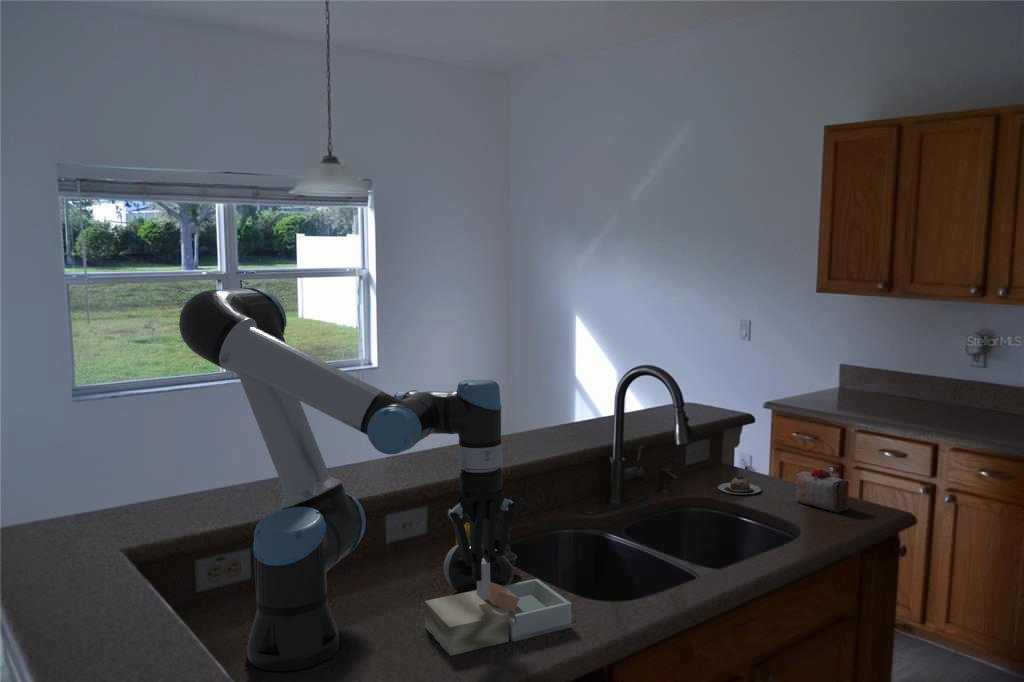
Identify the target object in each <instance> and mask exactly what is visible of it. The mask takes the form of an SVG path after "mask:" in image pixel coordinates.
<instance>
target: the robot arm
mask: <svg viewBox="0 0 1024 682" xmlns="http://www.w3.org/2000/svg"><path fill="white" fill-rule="evenodd" d="M178 326H179V327H178V328H179V333H180V335H181V338H182V341H184V343H185V344H186V346H187V347H188V348H189V349H190V350H191V351H192V352H194V353H195V354H196V355H198V356H199V357H201V358H202V359H204V360H205V361H208V362H210V363H211V364H214V365H216V366H218V367H220V368H221V369H224V370H226V371H230V372H233V373H235V374H236V375H238V378H239V380H240V383H241V385H242V388H243V391H244V393H245V396H246V398H247V401H248V403H249V405H250V408H251V411H252V413H253V415H254V419H255V421H256V423H257V425H258V428H259V431H260V433H261V435H262V438H263V442H264V443H265V446H266V449H267V451H268V453H269V456H270V459H271V461H272V463H273V466H274V469H275V471H276V473H277V477H278V479H279V481H280V484H281V486H282V488H283V491H284V494H285V495H284V498H283V500H282V503H281V505H280V507H281V511H277V510H276V511H273V512H272V513H270V514H268V515H266V516H265V517H263V518H262V519H261V520H259V522H258V523H257V524H256V526H255V528H254V532H253V543H252V544H253V545H252V553H253V556H254V557H253V558H254V562H253V563H254V577H255V595H256V596H255V598H256V613H255V617H254V620H253V623H252V626H251V630H250V633H249V636H248V637H249V638H248V642H247V648H246V649H247V658H248V659H247V660H248V661H249V663H250V664H251V665H252V666H254V667H256V668H258V669H259V670H263V671H269V672H270V671H271V672H293V671H299V670H305V669H308V668H311V667H315V666H317V665H319V664H321V663H323V662H325V661H327V660H329V659H330V658H332V657H333V656H334V655H335V654H336V653H337V651H338V650H339V647H340V637H339V636H340V635H339V630H338V626H337V623H336V622H335V619H334V616H333V614H332V611H331V608H330V606H329V604H328V603H329V602H328V591H327V590H328V587H327V585H328V584H327V582H328V581H327V572H328V571H329V570H330V569H332V568H333V567H334V566H336V564H338V563H339V562H340V561H342V559H343V558H346V557H347V556H349V555H350V554H351V553H352V552H354V550H355V548H356V547H357V546H358V544H359V543H360V542H361V540H362V538H363V537H364V534H365V530H366V524H367V523H366V513H365V510H364V508H363V506H362V504H361V503H360V502H359V500H358V498H356V497H355V496H354V495H351V494H350V493H349V492H347V491H346V490H345V488H344V486H343V482H342V481H341V480H340V479H338V478H335V477H333V476H332V475H330V473H329V471H328V468H327V465H326V463H325V461H324V458H323V455H322V453H321V450H320V448H319V445H318V443H317V440H316V438H315V435H314V432H313V429H312V427H311V425H310V422H309V421H308V418H307V417H308V416H307V415H306V413H305V410H304V408H303V407H304V406H303V405H302V403H303V404H306V405H307V406H309V407H311V408H313V409H314V410H315V409H316V410H317V411H320V412H321V413H323V414H325V415H326V416H329V417H331V418H333V419H335V420H336V421H339V422H340V423H343V424H345V425H346V426H348V427H350V428H352V429H355V430H356V431H359V432H360V433H362V434H364V435H366V436H367V437H368V440H369V442H370V443H371V445H372V446H373V448H374V449H376V451H378V452H380V453H382V454H384V455H397V454H400V453H403V452H405V451H409V450H410V449H412V448H413V447H415V445H416V444H417V443H419V442H420V441H422V440H423V439H426V438H427V437H428V436H430V435H435V434H437V435H438V434H440V435H443V434H445V435H456V434H457V435H458V447H459V448H458V456H459V457H458V463H459V466H460V468H461V469H460V470H459V489H460V495H459V498H458V500H457V502H458V503H457V504H455V506H454V507H453V508H452V509H451V508H448V509H447V510H446V512H445V514H446V515H447V517H448V518H449V519H450V520H451V523H452V526H453V530H454V534H455V539H456V538H457V542H458V546H459V550H460V553H461V557H462V558H463V559H464V560H466V561H467V562H468V563H470V562H472V577H473V579H474V580H475V581H477V595H478V596H479V597H480V598H481V599H483V600H485V599H490V598H491V591H490V578H494V563H495V562H496V561H497V559H496V558H497V557H499V556H503V555H504V552H505V547H506V542H507V536H508V531H509V526H510V525H511V521H512V516H513V514H514V512H515V510H516V508H517V503H516V502H514V501H512V500H511V499H509V498H506V497H505V493H504V492H503V469H502V468H501V465H502V464H503V461H502V460H503V456H502V455H503V453H502V451H503V449H502V446H503V445H502V404H501V403H502V401H501V393H500V391H501V389H500V385H499V383H497V381H495V380H491V379H483V378H481V379H479V378H476V379H465V380H461V381H459V382H458V384H457V389H456V390H454V391H432V390H431V391H430V390H429V391H428V390H427V391H426V390H425V391H424V390H417V389H412V390H405V391H398V392H396V393H395V394H394V395H391V394H389V393H386V392H384V391H383V390H381V389H379V388H377V387H375V386H373V385H371V384H369V383H367V382H365V381H363V380H361V379H360V378H357V377H356V376H354V375H351V374H350V373H347V372H345V371H343V370H341V369H339V368H337V367H335V366H333V365H332V364H330V363H327V362H325V361H323V360H321V359H319V358H317V357H315V356H313V355H311V354H309V353H307V352H305V351H303V350H302V349H299V348H298V347H295V346H293V345H291V344H289V343H288V342H286V340H285V335H284V334H285V330H286V327H287V314H286V311H285V309H284V307H283V305H282V304H281V302H280V301H279V300H278V298H276V297H275V296H274V295H273V294H272V293H270V292H268V291H265V290H264V289H260V288H254V287H248V286H247V287H245V286H244V287H239V288H227V289H226V288H224V289H208V290H204V291H201V292H199V293H197V294H195V295H194V296H192V297H191V298H189V300H188V301H187V302H186V303H185V305H184V306H183V308H182V310H181V312H180V315H179V320H178ZM499 510H500V511H499ZM463 512H464V514H466V516H467V517H468V523H470V546H469V542H468V538H467V535H466V531H465V527H464V522H463V519H462V518H463ZM498 512H499V514H498V520H497V521H496V515H497V513H498ZM496 522H497V524H496ZM495 525H496V526H495ZM495 527H497V529H495ZM495 530H496V531H495ZM482 540H483V541H482ZM482 542H483V543H482ZM482 545H483V548H484V557H485V559H484V558H482Z"/></svg>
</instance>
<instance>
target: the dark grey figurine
mask: <svg viewBox="0 0 1024 682" xmlns="http://www.w3.org/2000/svg"><path fill="white" fill-rule="evenodd" d="M495 527H496V529H497V526H495ZM496 529H495V530H496ZM510 535H511V534H510V526H509V531H508V536H507V542H506V547H505V552H504V555H503V556H504V557H505V558H506V559H507V560H508V561H509V562H510V564H511V565H512V567H514V566H515V565H516V560H517V559H518V556H517V554H516V553H514V552H512V550H511V542H512V538H511V537H510ZM513 571H514V576H515V575H516V574H517V571H516V570H515V569H514V568H513Z"/></svg>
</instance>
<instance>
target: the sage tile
mask: <svg viewBox="0 0 1024 682" xmlns="http://www.w3.org/2000/svg"><path fill="white" fill-rule="evenodd" d="M518 598H519V601H518V604H517V606H516V608H515V611H514V612H513V611H510V613H511V614H512V615H514V614H518V613H523V612H527V611H531V610H536V609H540V608H544V607H546V606H544V605H543V604H542V603H541V602H539V601H538V600H537V599H536V598H534V597H533V596H532V595H528V596H523V597H518Z"/></svg>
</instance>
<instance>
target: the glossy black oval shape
mask: <svg viewBox="0 0 1024 682" xmlns="http://www.w3.org/2000/svg"><path fill="white" fill-rule="evenodd" d="M468 542H469V546H470V541H468ZM482 558H484V559H485V557H484V548H483V544H482ZM496 559H497V561H496V562H495V563H494V578H490V582H493V583H495V584H498V585H501V586H505V585H509V584H512V581H513V579H514V576H515V575H514V571H513V569H514V568H513V567H514V566H513V567H512V565H511V564H510V562H509V561H508V560H507V559H506V558H505V557H504V556H499V557H497V558H496ZM443 574H444V578H445V580H446V581H447V583H448V585H450V587H452V588H453V589H454V590H455V591H456V592H458V594H460V593H465V592H470V591H474V590H477V581H475V580H474V579H473V577H472V562H470V563H468V562H467V561H466V560H464V559H463V558H462V557H461V553H460V550H459V546H458V545H456V544H455V546H453V547H451V549H450V550H449V551H448V553H447V554H446V555H445V560H444V562H443Z"/></svg>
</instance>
